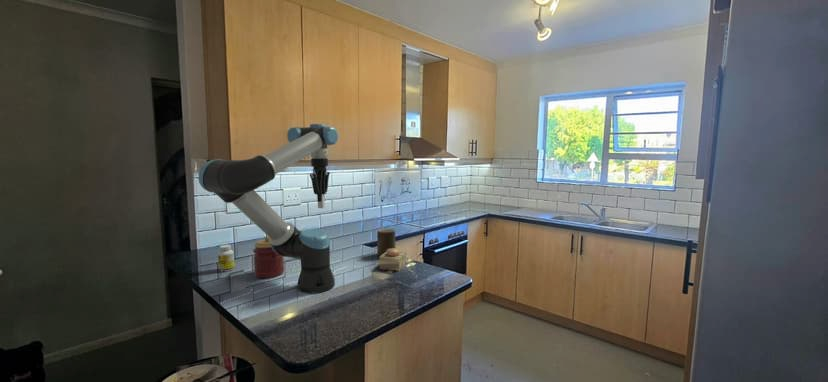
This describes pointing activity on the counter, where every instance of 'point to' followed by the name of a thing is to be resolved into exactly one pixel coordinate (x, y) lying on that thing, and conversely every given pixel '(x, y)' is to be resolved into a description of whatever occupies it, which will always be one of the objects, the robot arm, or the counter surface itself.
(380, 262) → the housing
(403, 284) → the counter surface
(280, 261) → the canister
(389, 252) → the knob
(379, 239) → the pillar candle
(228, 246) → the pill bottle
